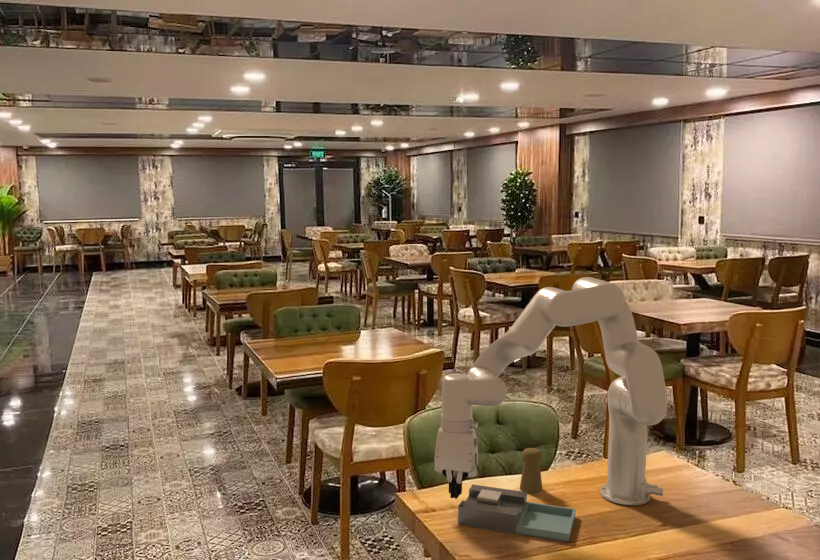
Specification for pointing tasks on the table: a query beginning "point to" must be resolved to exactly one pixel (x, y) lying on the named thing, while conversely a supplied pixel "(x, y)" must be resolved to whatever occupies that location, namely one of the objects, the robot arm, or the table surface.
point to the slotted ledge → (492, 510)
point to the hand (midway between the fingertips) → (455, 496)
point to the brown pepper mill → (531, 471)
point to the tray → (546, 521)
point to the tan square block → (490, 497)
